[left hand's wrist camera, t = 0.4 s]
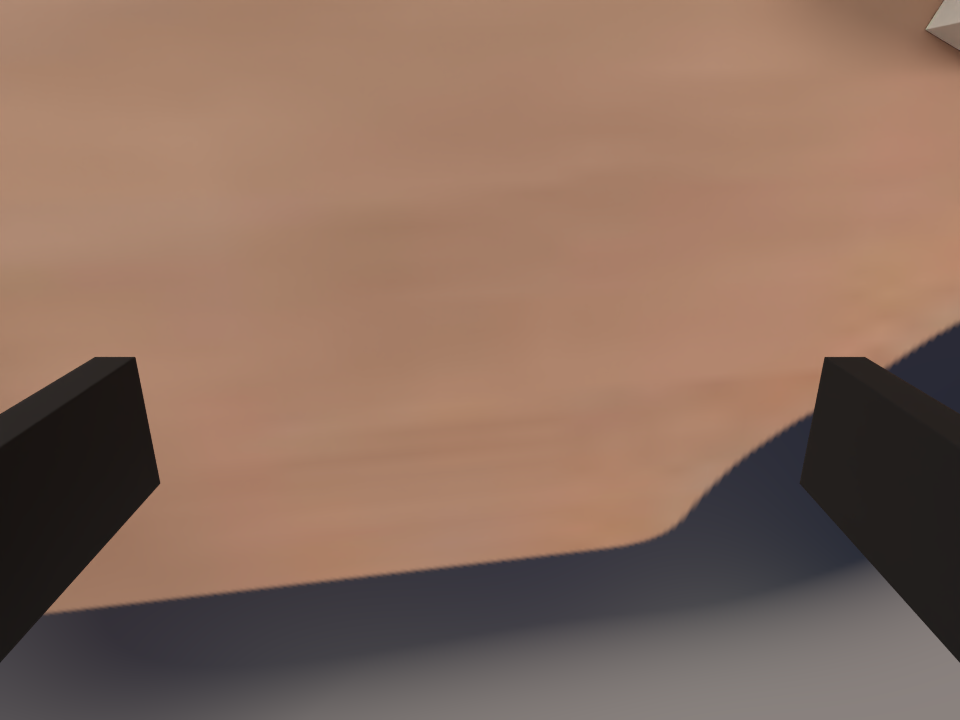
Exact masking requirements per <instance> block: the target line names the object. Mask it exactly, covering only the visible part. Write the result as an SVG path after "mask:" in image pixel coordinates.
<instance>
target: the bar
mask: <svg viewBox="0 0 960 720" xmlns="http://www.w3.org/2000/svg"><path fill="white" fill-rule="evenodd" d="M926 30H927V31H928V32H930V33H932V34H933V35H935V36H937V37H938V38H940V39H941V40H943V41H945V42H946V43H948V44H950V45H951V46H953V47H955V48H956V49H958V50H960V0H944V1H943V3H942V4H941V6H940V8H939V9H938V11H937V12H936V14H935V15H934V17H933V18H932V20H931V22H930V23H929V25H928V26H927V28H926Z"/></svg>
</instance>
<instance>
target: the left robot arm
mask: <svg viewBox="0 0 960 720" xmlns="http://www.w3.org/2000/svg"><path fill="white" fill-rule="evenodd" d="M159 484H160V480H159V475H158V469H157V464H156V459H155V454H154V449H153V444H152V439H151V434H150V429H149V424H148V419H147V414H146V409H145V404H144V399H143V394H142V389H141V383H140V378H139V373H138V368H137V363H136V358H135V357H94V358H93V359H91V360H89V361H88V362H86V363H84V364H83V365H81V366H79V367H78V368H76V369H74V370H73V371H71V372H69V373H68V374H66V375H64V376H63V377H61V378H59V379H58V380H56V381H54V382H53V383H51V384H50V385H48V386H46V387H45V388H43V389H41V390H40V391H38V392H36V393H35V394H33V395H31V396H30V397H28V398H26V399H25V400H23V401H21V402H20V403H18V404H16V405H15V406H13V407H11V408H10V409H8V410H6V411H5V412H3V413H1V414H0V662H1V661H2V660H3V659H4V658H5V657H6V655H7V654H8V653H9V652H10V651H11V650H12V649H13V648H14V646H15V645H16V644H17V643H18V642H19V641H20V640H21V639H22V638H23V636H24V635H25V634H26V633H27V632H28V631H29V630H30V629H31V627H32V626H33V625H34V624H35V623H36V622H37V621H38V620H39V619H40V617H41V616H42V615H43V614H44V613H45V612H46V611H47V610H48V608H49V607H50V606H51V605H52V604H53V603H54V602H55V601H56V600H57V598H58V597H59V596H60V595H61V594H62V593H63V592H64V591H65V589H66V588H67V587H68V586H69V585H70V584H71V583H72V582H73V580H74V579H75V578H76V577H77V576H78V575H79V574H80V573H81V572H82V570H83V569H84V568H85V567H86V566H87V565H88V564H89V563H90V561H91V560H92V559H93V558H94V557H95V556H96V555H97V554H98V553H99V551H100V550H101V549H102V548H103V547H104V546H105V545H106V544H107V542H108V541H109V540H110V539H111V538H112V537H113V536H114V535H115V534H116V532H117V531H118V530H119V529H120V528H121V527H122V526H123V525H124V523H125V522H126V521H127V520H128V519H129V518H130V517H131V516H132V514H133V513H134V512H135V511H136V510H137V509H138V508H139V507H140V506H141V504H142V503H143V502H144V501H145V500H146V499H147V498H148V497H149V495H150V494H151V493H152V492H153V491H154V490H155V489H156V488H157V487H158V485H159ZM800 484H801V485H802V487H803V488H804V489H805V490H806V491H807V492H808V493H809V494H810V495H811V497H812V498H813V499H814V500H815V501H816V502H817V503H818V504H819V506H820V507H821V508H822V509H823V510H824V511H825V512H826V513H827V514H828V516H829V517H830V518H831V519H832V520H833V521H834V522H835V523H836V524H837V526H838V527H839V528H840V529H841V530H842V531H843V532H844V533H845V535H846V536H847V537H848V538H849V539H850V540H851V541H852V542H853V544H854V545H855V546H856V547H857V548H858V549H859V550H860V551H861V553H862V554H863V555H864V556H865V557H866V558H867V559H868V560H869V561H870V562H871V564H872V565H873V566H874V567H875V568H876V569H877V570H878V572H879V573H880V574H881V575H882V576H883V577H884V578H885V579H886V580H887V582H888V583H889V584H890V585H891V586H892V587H893V588H894V589H895V591H896V592H897V593H898V594H899V595H900V596H901V597H902V598H903V599H904V601H905V602H906V603H907V604H908V605H909V606H910V607H911V608H912V610H913V611H914V612H915V613H916V614H917V615H918V616H919V617H920V619H921V620H922V621H923V622H924V623H925V624H926V625H927V626H928V627H929V629H930V630H931V631H932V632H933V633H934V634H935V635H936V636H937V637H938V639H939V640H940V641H941V642H942V643H943V644H944V645H945V647H946V648H947V649H948V650H949V651H950V652H951V653H952V654H953V655H954V657H955V658H956V659H957V660H958V661H959V662H960V414H959V413H957V412H955V411H954V410H952V409H950V408H949V407H947V406H945V405H944V404H942V403H940V402H939V401H937V400H935V399H934V398H932V397H930V396H929V395H927V394H925V393H924V392H922V391H920V390H919V389H917V388H915V387H914V386H912V385H910V384H909V383H907V382H905V381H904V380H902V379H901V378H899V377H897V376H896V375H894V374H892V373H891V372H889V371H887V370H886V369H884V368H882V367H881V366H879V365H877V364H876V363H874V362H872V361H871V360H869V359H867V358H866V357H825V358H824V363H823V368H822V373H821V378H820V383H819V389H818V394H817V399H816V404H815V409H814V414H813V419H812V424H811V429H810V434H809V439H808V444H807V449H806V454H805V459H804V464H803V469H802V475H801V480H800Z"/></svg>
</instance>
